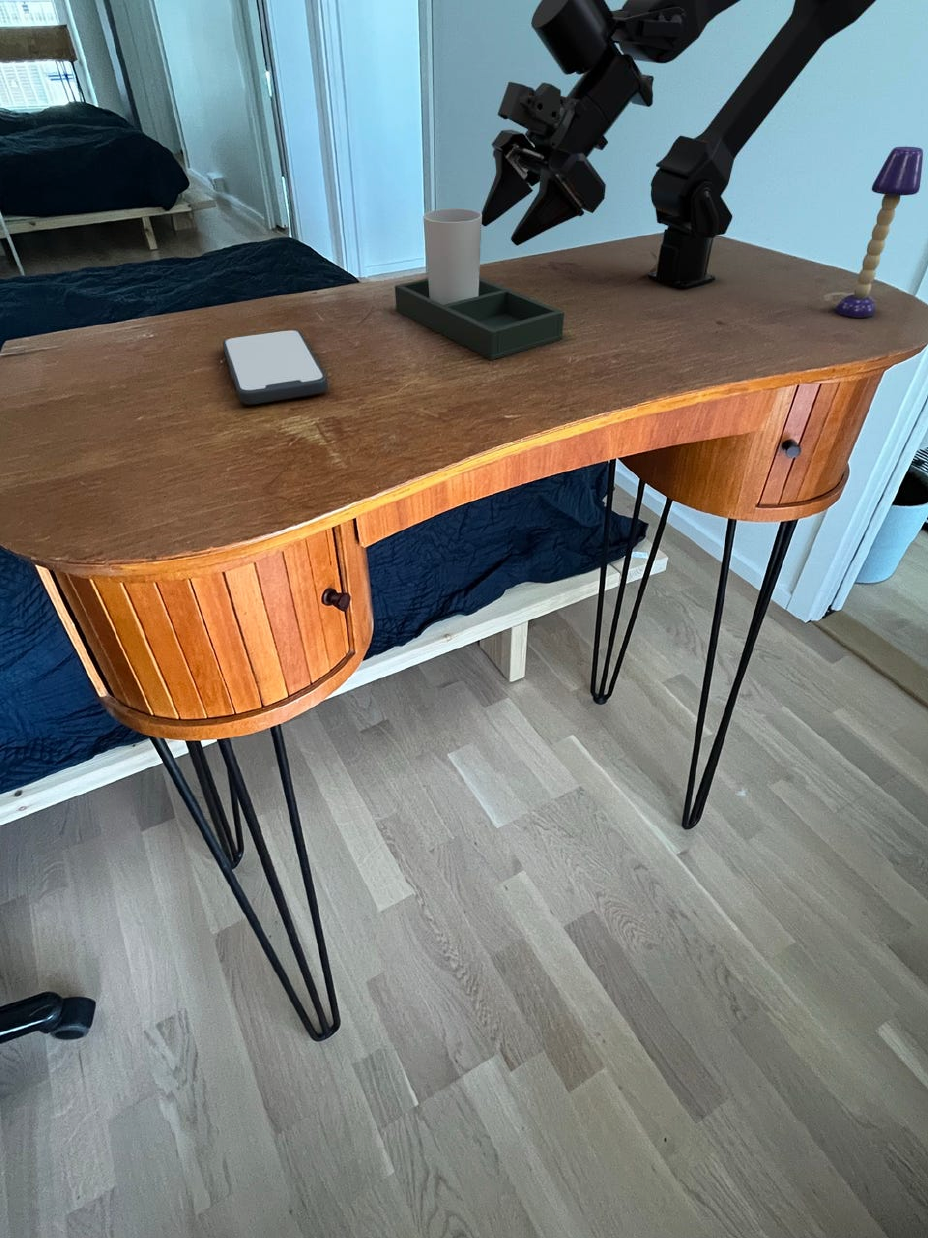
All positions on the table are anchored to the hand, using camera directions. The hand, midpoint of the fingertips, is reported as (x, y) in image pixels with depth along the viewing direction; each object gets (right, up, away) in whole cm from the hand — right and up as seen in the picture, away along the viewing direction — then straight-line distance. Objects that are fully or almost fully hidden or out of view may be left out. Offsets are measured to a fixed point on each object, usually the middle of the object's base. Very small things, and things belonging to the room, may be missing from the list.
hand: (497, 232), depth 83 cm
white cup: (-5, -7, +4) cm, 10 cm away
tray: (-3, -10, +1) cm, 11 cm away
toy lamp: (+43, -8, +3) cm, 44 cm away
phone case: (-24, -19, -8) cm, 32 cm away
